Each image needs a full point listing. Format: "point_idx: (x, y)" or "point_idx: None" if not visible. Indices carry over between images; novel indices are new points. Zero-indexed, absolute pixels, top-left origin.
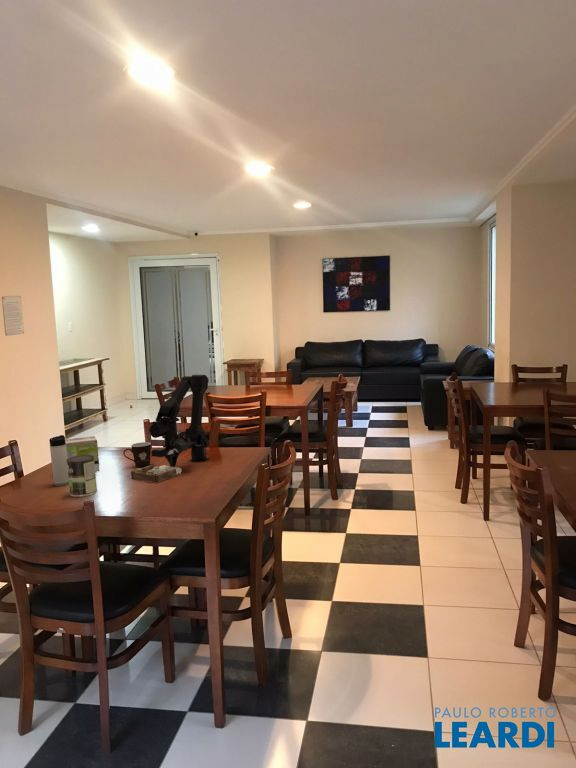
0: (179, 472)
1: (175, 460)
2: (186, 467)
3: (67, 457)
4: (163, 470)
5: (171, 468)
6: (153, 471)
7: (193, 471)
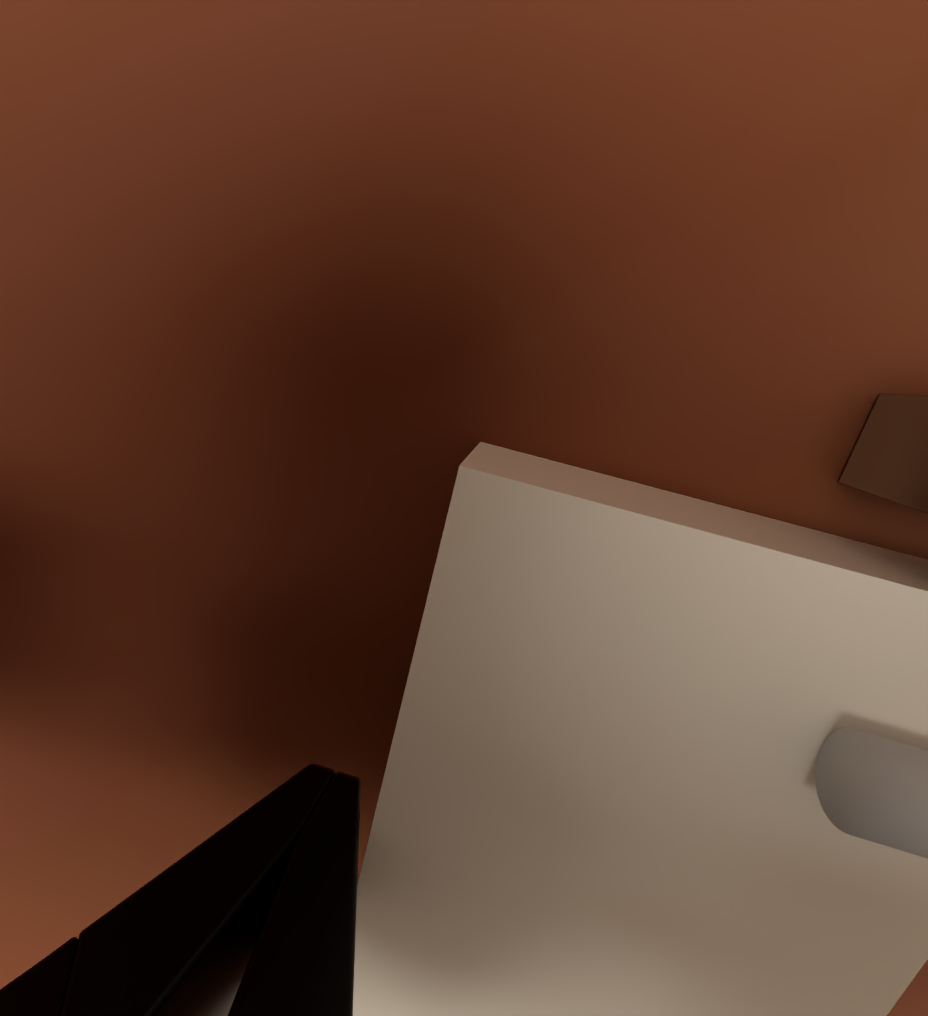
0: (568, 467)
1: (144, 980)
2: (40, 567)
3: None
4: (852, 936)
5: (576, 787)
6: None
7: (279, 118)
